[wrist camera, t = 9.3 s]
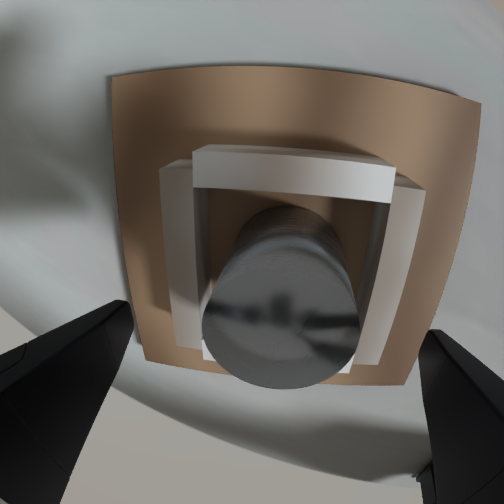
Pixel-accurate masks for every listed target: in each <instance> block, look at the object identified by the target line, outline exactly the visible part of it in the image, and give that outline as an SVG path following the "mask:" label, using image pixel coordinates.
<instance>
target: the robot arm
mask: <svg viewBox="0 0 504 504" xmlns="http://www.w3.org/2000/svg"><path fill="white" fill-rule="evenodd" d="M133 329H134V321H133V316H132V312H131V307H130V304H129V302H127V301H123V300H114V301H112V302H110V303H108V304H106V305H104V306H102V307H99V308H97V309H95V310H93V311H91V312H89V313H87V314H85V315H83V316H81V317H78V318H76V319H74V320H72V321H70V322H68V323H66V324H64V325H62V326H60V327H58V328H56V329H54V330H51V331H49V332H47V333H45V334H43V335H41V336H39V337H37V338H35V339H33V340H31V341H29V342H28V343H25V344H23V345H21V346H18V347H17V348H14V349H12V350H10V351H8V352H6V353H4V354H1V355H0V504H60V502H61V499H62V497H63V494H64V491H65V489H66V486H67V484H68V482H69V479H70V476H71V474H72V471H73V469H74V466H75V464H76V462H77V459H78V457H79V454H80V452H81V450H82V448H83V445H84V443H85V441H86V438H87V436H88V434H89V431H90V429H91V427H92V425H93V423H94V421H95V418H96V416H97V414H98V412H99V410H100V408H101V405H102V403H103V401H104V399H105V397H106V395H107V393H108V390H109V388H110V386H111V384H112V382H113V380H114V378H115V376H116V374H117V372H118V370H119V367H120V365H121V362H122V359H123V356H124V354H125V351H126V348H127V345H128V343H129V340H130V337H131V335H132V332H133ZM418 360H419V368H420V377H421V387H422V397H423V403H424V409H425V414H426V420H427V425H428V431H429V437H430V444H431V451H432V458H433V461H432V462H431V463H430V464H429V465H428V466H427V467H426V468H425V469H424V470H423V471H422V473H421V474H420V475H419V476H418V477H417V478H416V482H420V483H421V490H422V497H423V504H504V380H502V379H501V378H500V377H499V376H498V375H496V374H495V373H494V372H493V371H492V370H490V369H489V368H488V367H487V366H486V365H484V364H483V363H482V362H481V361H479V360H478V359H477V358H476V357H475V356H473V355H472V354H471V353H470V352H468V351H467V350H466V349H465V348H463V347H462V346H461V345H460V344H458V343H457V342H456V341H455V340H453V339H452V338H451V337H450V336H448V335H447V334H446V333H444V332H443V331H442V330H439V329H430V330H428V331H427V333H426V335H425V337H424V340H423V342H422V344H421V347H420V349H419V353H418Z"/></svg>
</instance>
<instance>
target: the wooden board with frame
mask: <svg viewBox="0 0 504 504" xmlns="http://www.w3.org/2000/svg"><path fill="white" fill-rule="evenodd" d="M480 116H481V103H478V102H475V101H472V100H469V99H466V98H463V97H459V96H456V95H452V94H449V93H445V92H442V91H438V90H434V89H430V88H426V87H422V86H418V85H413V84H409V83H404V82H399V81H394V80H389V79H384V78H378V77H373V76H366V75H360V74H353V73H346V72H338V71H329V70H319V69H308V68H294V67H274V66H213V67H193V68H180V69H168V70H159V71H150V72H142V73H135V74H128V75H121V76H115V77H112V135H113V154H114V169H115V181H116V192H117V202H118V211H119V220H120V228H121V235H122V242H123V249H124V256H125V262H126V268H127V274H128V280H129V285H130V291H131V296H132V301H133V306H134V311H135V316H136V321H137V325H138V330H139V334H140V339H141V343H142V347H143V351H144V355H145V359H146V360H147V361H152V362H156V363H161V364H166V365H172V366H177V367H182V368H188V369H194V370H200V371H206V372H212V373H219V374H226V375H232V374H230V373H229V372H228V371H226V370H225V369H224V368H223V367H222V366H220V365H219V364H218V363H217V361H216V360H215V359H214V358H213V357H212V355H211V354H210V352H209V351H208V349H207V347H206V345H205V342H204V339H203V334H202V317H203V313H204V310H205V307H206V305H207V303H208V300H209V298H210V296H211V294H212V291H213V289H214V287H215V285H216V282H217V280H218V278H219V276H220V273H221V271H222V269H223V267H224V264H225V262H226V260H227V258H228V256H229V253H230V251H231V249H232V247H233V244H234V242H235V240H236V238H237V236H238V234H239V232H240V230H241V228H242V227H243V226H244V225H245V223H246V222H247V221H248V220H249V219H250V218H252V217H253V216H254V215H256V214H257V213H259V212H261V211H263V210H266V209H268V208H272V207H276V206H284V205H288V206H298V207H303V208H306V209H309V210H311V211H313V212H315V213H317V214H319V215H320V216H322V217H323V218H324V219H325V220H327V221H328V222H329V224H330V225H331V226H332V227H333V228H334V230H335V231H336V233H337V235H338V237H339V240H340V243H341V246H342V250H343V254H344V258H345V262H346V266H347V270H348V274H349V278H350V282H351V286H352V290H353V295H354V299H355V303H356V308H357V313H358V317H359V323H360V339H359V343H358V346H357V349H356V351H355V353H354V355H353V356H352V358H351V360H350V361H349V362H348V363H347V364H346V366H344V367H343V368H342V369H341V370H340V371H339V372H338V373H336V374H335V375H333V376H332V377H330V378H328V379H327V380H324V381H322V382H320V383H317V384H335V385H404V384H405V382H406V380H407V378H408V376H409V373H410V371H411V369H412V367H413V365H414V363H415V361H416V358H417V356H418V353H419V349H420V347H421V344H422V342H423V340H424V337H425V335H426V333H427V331H428V330H429V328H430V325H431V323H432V320H433V318H434V315H435V313H436V310H437V307H438V304H439V302H440V299H441V296H442V293H443V290H444V287H445V284H446V281H447V278H448V275H449V272H450V269H451V266H452V262H453V259H454V256H455V252H456V248H457V245H458V241H459V237H460V234H461V230H462V226H463V221H464V217H465V213H466V208H467V204H468V199H469V194H470V189H471V184H472V178H473V172H474V166H475V160H476V152H477V145H478V137H479V127H480ZM233 376H234V375H233Z"/></svg>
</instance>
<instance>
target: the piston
mask: <svg viewBox="0 0 504 504" xmlns="http://www.w3.org/2000/svg"><path fill="white" fill-rule="evenodd" d="M202 334H203V339H204V342H205V345H206V347H207V349H208V351H209V352H210V354H211V355H212V357H213V358H214V359H215V360H216V361H217V363H218V364H219V365H220V366H222V367H223V368H224V369H225V370H226V371H228V372H229V373H230V374H232V375H234V376H235V377H237V378H239V379H241V380H243V381H245V382H248V383H250V384H253V385H257V386H261V387H265V388H272V389H296V388H303V387H308V386H311V385H314V384H317V383H320V382H322V381H324V380H327V379H328V378H330V377H332V376H333V375H335V374H336V373H338V372H339V371H340V370H341V369H342V368H343V367H344V366H346V364H347V363H348V362H349V361H350V360H351V358H352V356H353V355H354V353H355V351H356V349H357V346H358V343H359V339H360V323H359V317H358V313H357V308H356V303H355V299H354V295H353V290H352V286H351V282H350V278H349V274H348V270H347V266H346V262H345V258H344V254H343V250H342V246H341V243H340V240H339V237H338V235H337V233H336V231H335V230H334V228H333V227H332V226H331V225H330V224H329V222H328V221H327V220H325V219H324V218H323V217H322V216H320V215H319V214H317V213H315V212H313V211H311V210H309V209H306V208H303V207H298V206H288V205H284V206H276V207H272V208H268V209H266V210H263V211H261V212H259V213H257V214H256V215H254V216H253V217H252V218H250V219H249V220H248V221H247V222H246V223H245V225H244V226H243V227H242V228H241V230H240V232H239V234H238V236H237V238H236V240H235V242H234V244H233V247H232V249H231V251H230V253H229V256H228V258H227V260H226V262H225V264H224V267H223V269H222V271H221V273H220V276H219V278H218V280H217V282H216V285H215V287H214V289H213V291H212V294H211V296H210V298H209V300H208V303H207V305H206V307H205V310H204V313H203V317H202Z"/></svg>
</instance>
